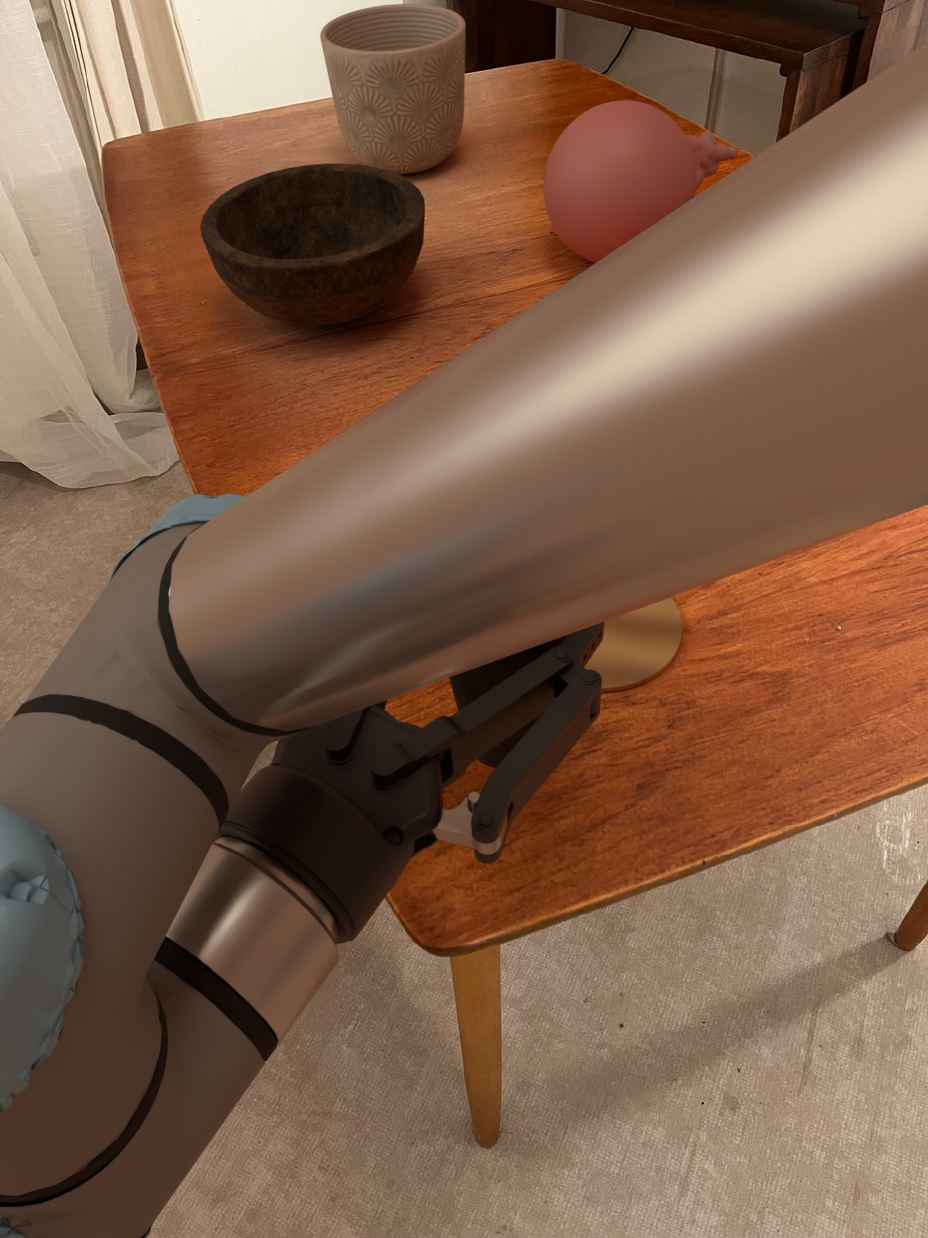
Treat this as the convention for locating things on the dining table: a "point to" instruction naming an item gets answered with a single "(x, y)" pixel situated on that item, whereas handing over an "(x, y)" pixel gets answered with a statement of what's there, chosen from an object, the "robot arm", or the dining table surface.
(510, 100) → the dining table surface
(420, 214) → the bowl
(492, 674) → the drinking cup
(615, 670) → the coaster
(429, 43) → the planter
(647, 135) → the balloon
